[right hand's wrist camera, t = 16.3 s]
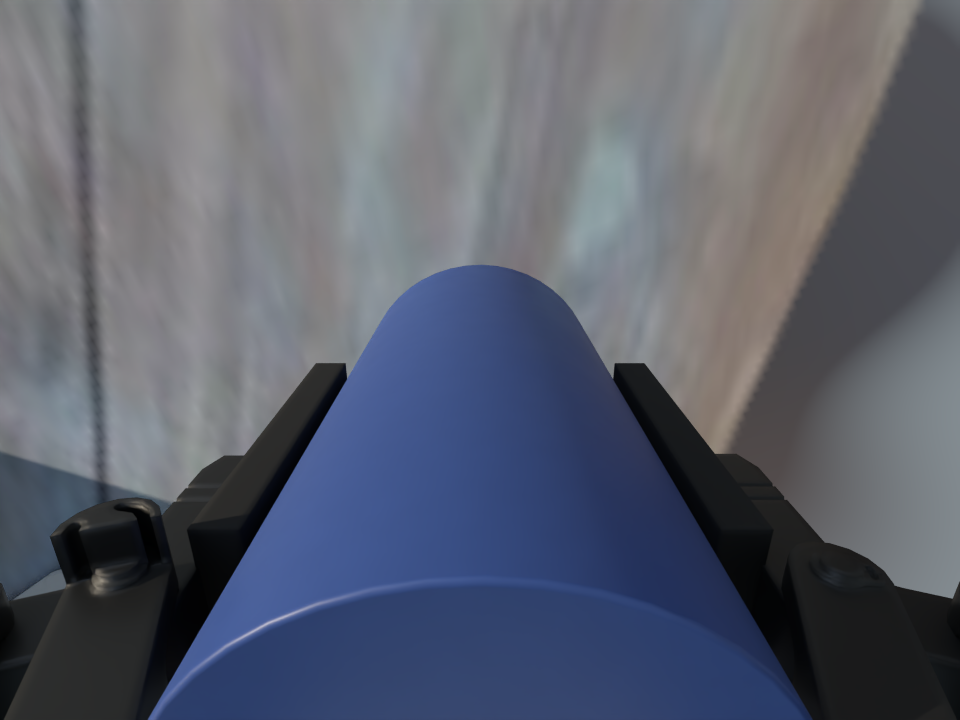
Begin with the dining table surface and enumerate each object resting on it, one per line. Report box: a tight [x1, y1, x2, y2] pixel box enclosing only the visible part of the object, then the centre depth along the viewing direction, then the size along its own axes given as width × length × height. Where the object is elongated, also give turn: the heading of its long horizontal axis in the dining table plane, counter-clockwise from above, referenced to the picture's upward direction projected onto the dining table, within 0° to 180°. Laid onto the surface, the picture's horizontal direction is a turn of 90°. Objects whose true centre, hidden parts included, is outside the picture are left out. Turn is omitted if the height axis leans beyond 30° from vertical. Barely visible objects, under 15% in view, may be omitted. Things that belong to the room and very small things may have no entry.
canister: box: [148, 265, 813, 720], centre depth 11 cm, size 7×7×12 cm
